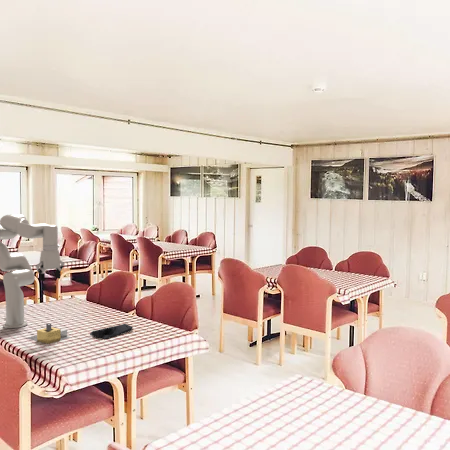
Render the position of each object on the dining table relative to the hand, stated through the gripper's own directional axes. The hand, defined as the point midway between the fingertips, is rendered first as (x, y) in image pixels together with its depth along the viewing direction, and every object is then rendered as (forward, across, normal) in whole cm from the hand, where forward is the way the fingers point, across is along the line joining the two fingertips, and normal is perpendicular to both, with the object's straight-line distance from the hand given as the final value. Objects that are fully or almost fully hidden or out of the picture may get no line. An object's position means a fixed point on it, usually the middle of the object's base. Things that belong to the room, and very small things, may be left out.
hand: (50, 279), depth 262 cm
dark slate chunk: (+29, -19, +28) cm, 45 cm away
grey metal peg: (+27, +11, +15) cm, 33 cm away
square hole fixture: (+29, +10, +12) cm, 33 cm away
